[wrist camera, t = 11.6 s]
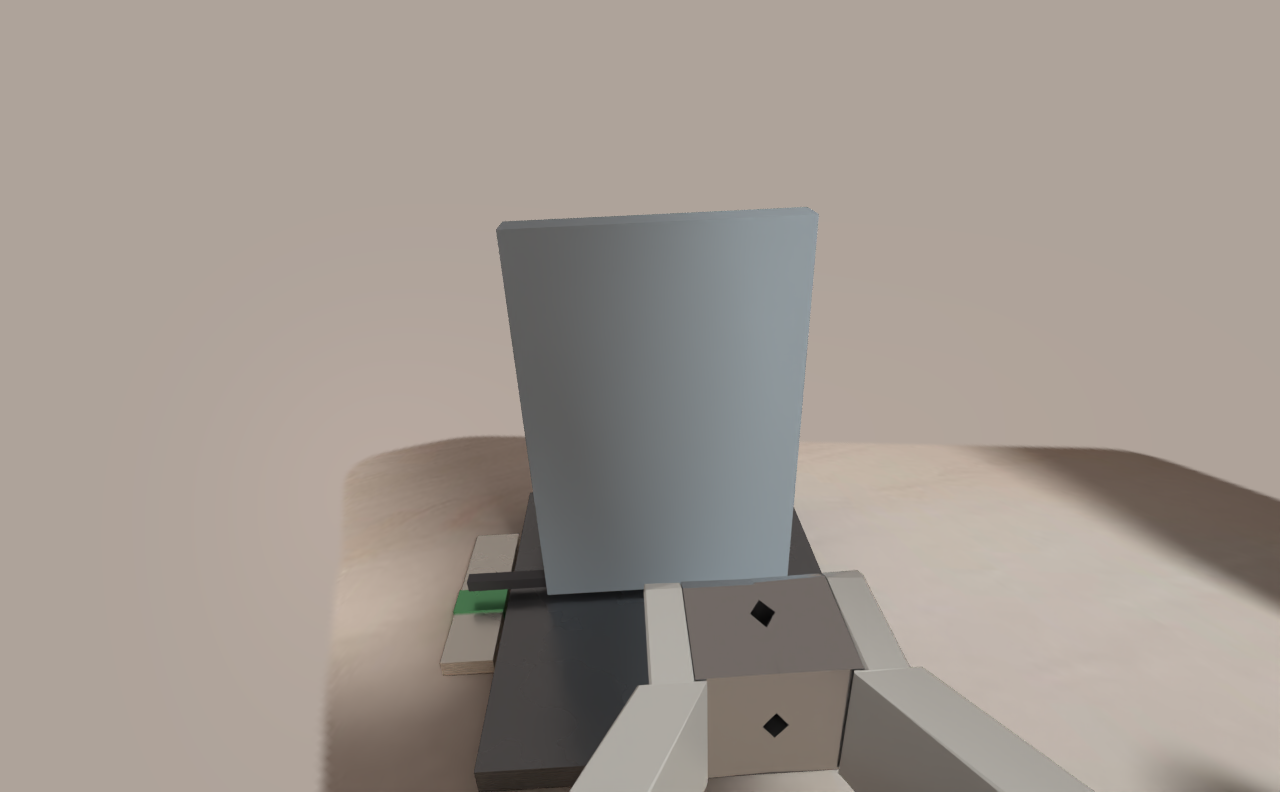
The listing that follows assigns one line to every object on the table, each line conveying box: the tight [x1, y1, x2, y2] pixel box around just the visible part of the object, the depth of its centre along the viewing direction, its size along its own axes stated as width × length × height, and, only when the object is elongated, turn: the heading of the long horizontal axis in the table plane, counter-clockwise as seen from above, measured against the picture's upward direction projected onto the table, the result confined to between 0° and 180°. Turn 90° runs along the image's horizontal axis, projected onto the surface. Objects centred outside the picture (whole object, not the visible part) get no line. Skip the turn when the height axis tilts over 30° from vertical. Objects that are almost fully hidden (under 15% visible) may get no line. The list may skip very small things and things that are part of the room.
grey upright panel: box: [467, 207, 819, 595], centre depth 28 cm, size 16×2×18 cm, turn 92°
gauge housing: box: [440, 493, 835, 792], centre depth 31 cm, size 19×18×6 cm
